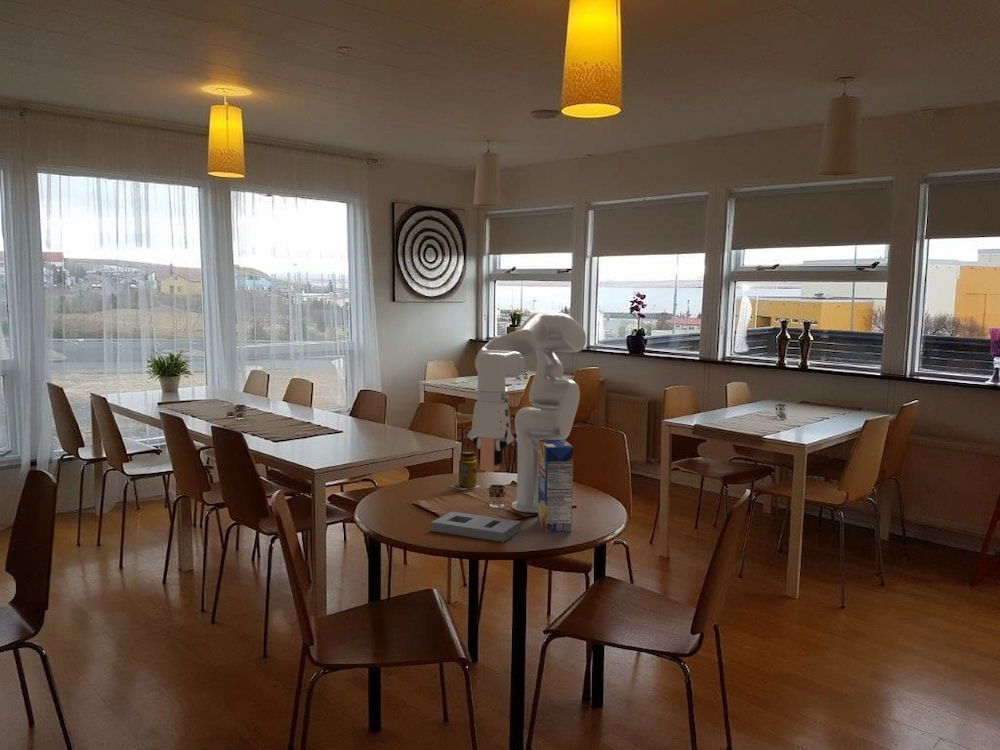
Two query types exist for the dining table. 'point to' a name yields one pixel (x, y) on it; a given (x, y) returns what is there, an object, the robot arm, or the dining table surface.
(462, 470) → the condiment
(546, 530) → the juice carton
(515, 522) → the socket board
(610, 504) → the dining table surface
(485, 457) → the square peg
